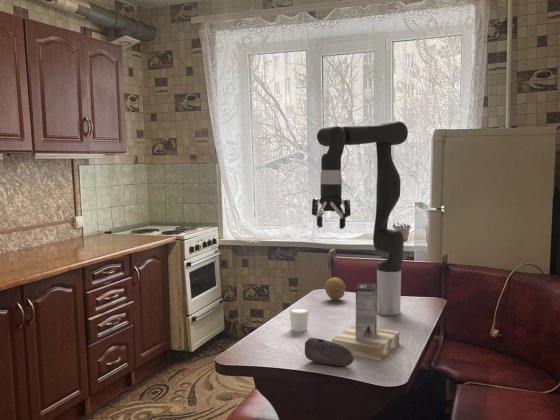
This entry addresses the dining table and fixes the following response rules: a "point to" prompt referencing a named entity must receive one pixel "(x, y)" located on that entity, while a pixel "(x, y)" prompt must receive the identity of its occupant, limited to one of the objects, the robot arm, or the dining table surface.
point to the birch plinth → (368, 343)
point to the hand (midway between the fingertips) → (330, 227)
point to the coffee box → (366, 311)
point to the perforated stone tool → (327, 352)
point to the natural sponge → (335, 288)
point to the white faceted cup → (299, 319)
